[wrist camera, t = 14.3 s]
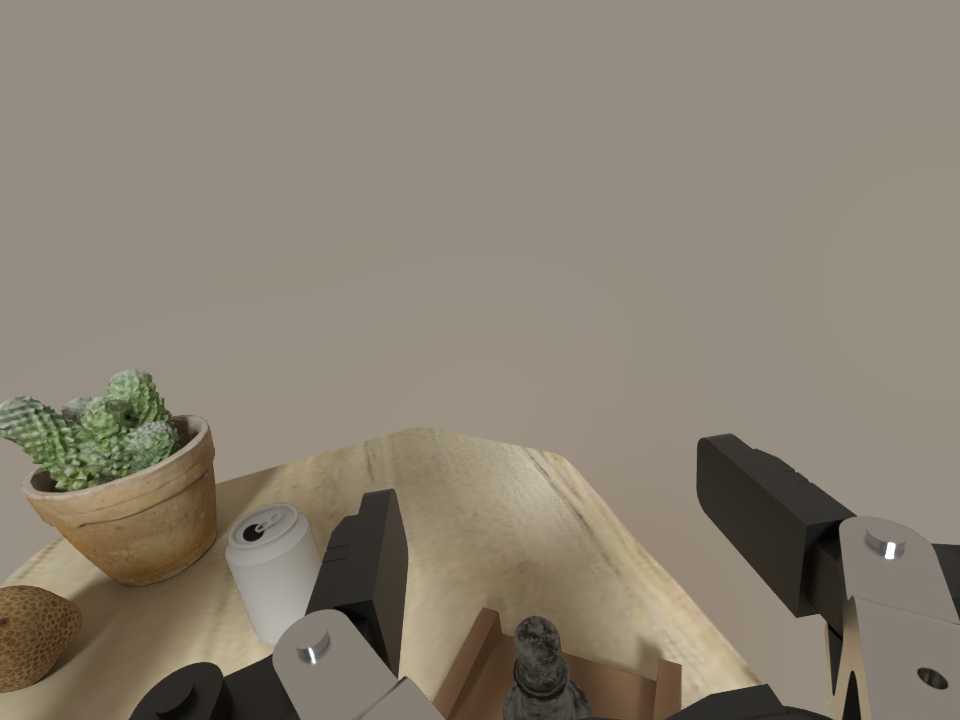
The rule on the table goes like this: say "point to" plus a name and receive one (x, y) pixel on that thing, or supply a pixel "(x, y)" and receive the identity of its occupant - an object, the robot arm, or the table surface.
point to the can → (273, 567)
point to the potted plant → (120, 477)
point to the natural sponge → (33, 633)
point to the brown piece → (611, 692)
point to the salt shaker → (542, 677)
